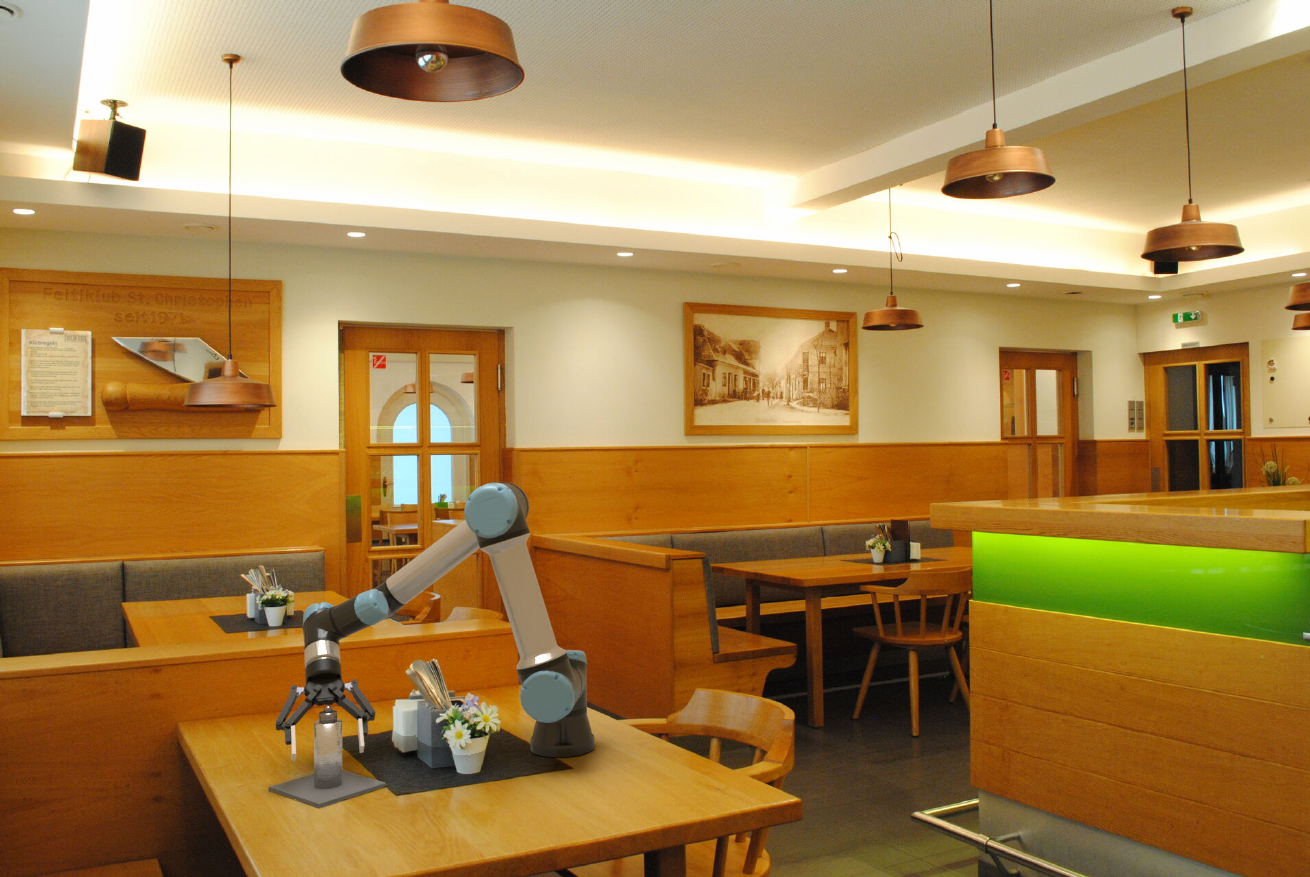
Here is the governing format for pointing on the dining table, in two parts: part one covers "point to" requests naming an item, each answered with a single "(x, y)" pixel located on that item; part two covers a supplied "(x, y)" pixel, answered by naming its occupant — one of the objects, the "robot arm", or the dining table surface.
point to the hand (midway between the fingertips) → (328, 753)
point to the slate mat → (319, 798)
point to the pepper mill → (327, 750)
